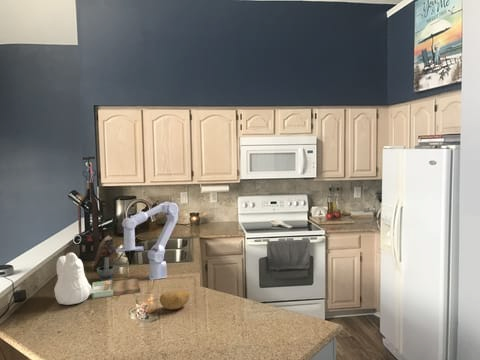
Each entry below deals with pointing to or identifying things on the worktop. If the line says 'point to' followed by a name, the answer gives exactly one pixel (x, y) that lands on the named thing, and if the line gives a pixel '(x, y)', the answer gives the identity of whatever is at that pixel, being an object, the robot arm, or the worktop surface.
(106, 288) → the terracotta tile
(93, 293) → the tray
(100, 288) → the cream tile
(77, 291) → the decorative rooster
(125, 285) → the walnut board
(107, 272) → the mortar and pestle
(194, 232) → the worktop surface
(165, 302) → the potato
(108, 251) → the owl
